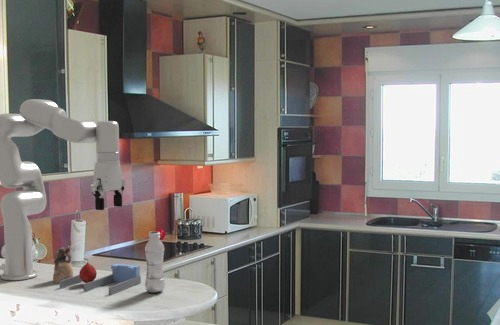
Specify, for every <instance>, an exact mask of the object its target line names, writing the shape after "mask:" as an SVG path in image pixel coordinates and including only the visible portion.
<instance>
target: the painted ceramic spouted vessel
mask: <svg viewBox="0 0 500 325" xmlns="http://www.w3.org/2000/svg"><path fill="white" fill-rule="evenodd" d="M70 250H71V248H70V247H67V248H65V247H60V248H59V249H58V250H57V251H56V252H55V253H56V254H55V255H54V257H53V258H54V261H53V264H54V268H53V269H54V270H53V275H52V277H53V278H52V279H53V283H54V282H55V284H60V281H61V280H65V279H68V278H71V277H74V276H75V274H74V269H73V265H72V262H71V260H72V255H71V254H70Z"/></svg>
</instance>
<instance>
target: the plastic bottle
mask: <svg viewBox="0 0 500 325" xmlns="http://www.w3.org/2000/svg"><path fill="white" fill-rule="evenodd" d="M160 238H161V232H160V231H149V232H148V241H147V243H146V244H145V247H144V252H145V260H146V276H145V277H146V279H145V283H144V286H145V290H146V292H147V293H153V294H155V293H160V292H162V291H163V292H164V290H165V287H166V286H165V285H166V281H165V280H166V279H165V277H164V255H165V245H164V243H163V242H162V240H161V239H160Z"/></svg>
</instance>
